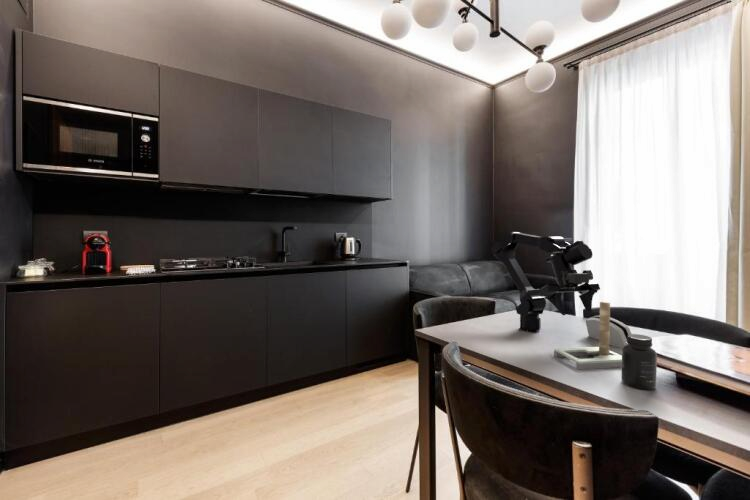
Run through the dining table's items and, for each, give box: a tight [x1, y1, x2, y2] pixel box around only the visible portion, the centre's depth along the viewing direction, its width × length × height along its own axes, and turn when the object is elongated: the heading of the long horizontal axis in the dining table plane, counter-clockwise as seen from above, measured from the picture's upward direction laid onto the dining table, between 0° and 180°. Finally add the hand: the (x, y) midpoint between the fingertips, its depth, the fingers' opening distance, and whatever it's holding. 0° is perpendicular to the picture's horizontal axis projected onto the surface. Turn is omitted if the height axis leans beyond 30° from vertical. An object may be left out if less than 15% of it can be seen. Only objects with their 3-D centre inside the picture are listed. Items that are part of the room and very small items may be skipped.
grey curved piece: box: [585, 315, 632, 350], centre depth 118 cm, size 17×5×10 cm, turn 8°
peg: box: [593, 301, 611, 358], centre depth 102 cm, size 5×5×17 cm
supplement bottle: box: [620, 333, 658, 391], centre depth 85 cm, size 7×7×12 cm
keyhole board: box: [553, 346, 622, 370], centre depth 102 cm, size 15×11×2 cm
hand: (577, 314), depth 115 cm, fingers open, 9 cm apart
